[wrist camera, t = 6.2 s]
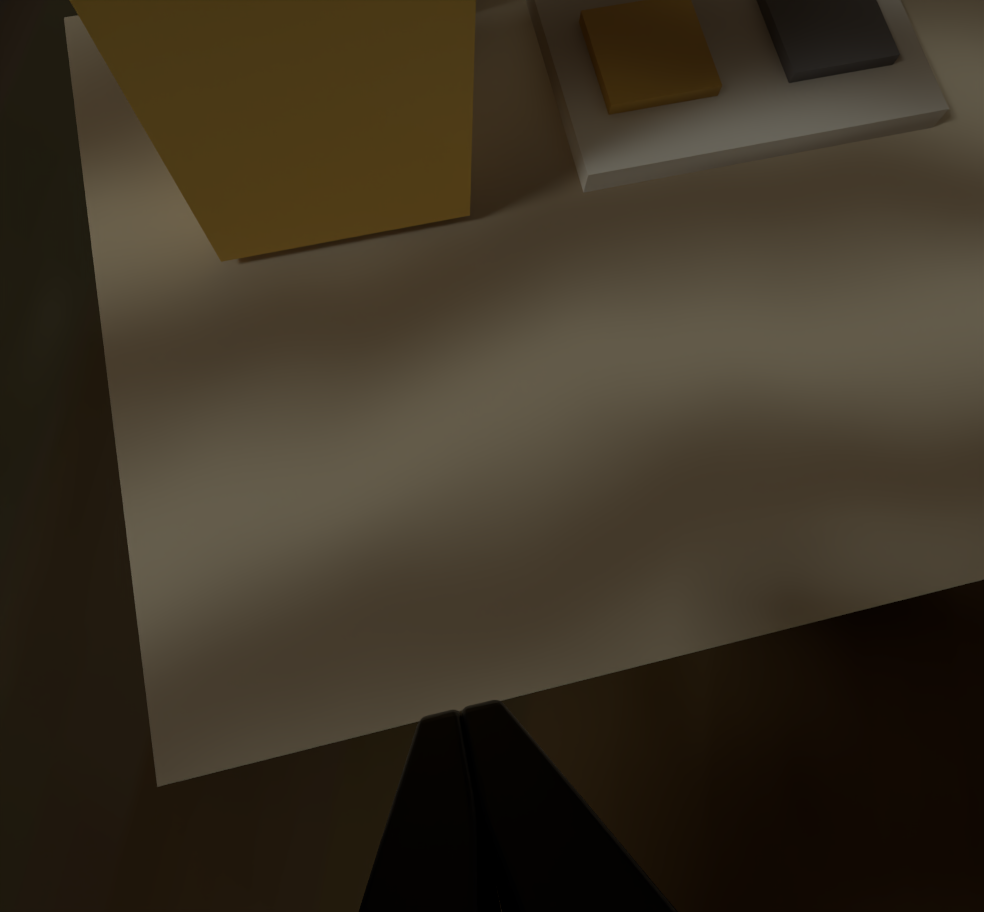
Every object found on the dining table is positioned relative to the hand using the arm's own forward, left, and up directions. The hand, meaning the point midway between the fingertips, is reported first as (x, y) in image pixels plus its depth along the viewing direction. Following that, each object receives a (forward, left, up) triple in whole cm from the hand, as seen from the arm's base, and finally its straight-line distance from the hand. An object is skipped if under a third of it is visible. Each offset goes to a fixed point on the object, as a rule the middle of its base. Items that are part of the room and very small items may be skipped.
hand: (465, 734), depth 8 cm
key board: (+8, -9, -7) cm, 14 cm away
